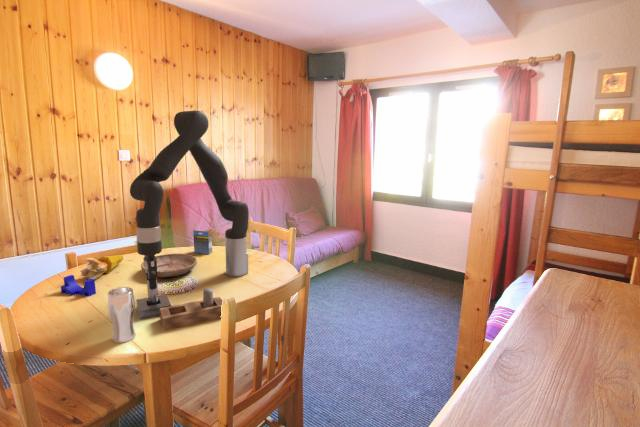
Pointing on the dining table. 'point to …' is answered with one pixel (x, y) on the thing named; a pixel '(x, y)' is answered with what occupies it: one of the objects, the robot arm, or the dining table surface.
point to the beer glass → (122, 313)
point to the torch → (100, 266)
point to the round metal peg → (152, 295)
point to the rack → (191, 311)
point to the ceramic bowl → (173, 264)
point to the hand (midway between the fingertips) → (151, 284)
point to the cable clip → (78, 287)
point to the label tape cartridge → (202, 242)
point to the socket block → (151, 307)
